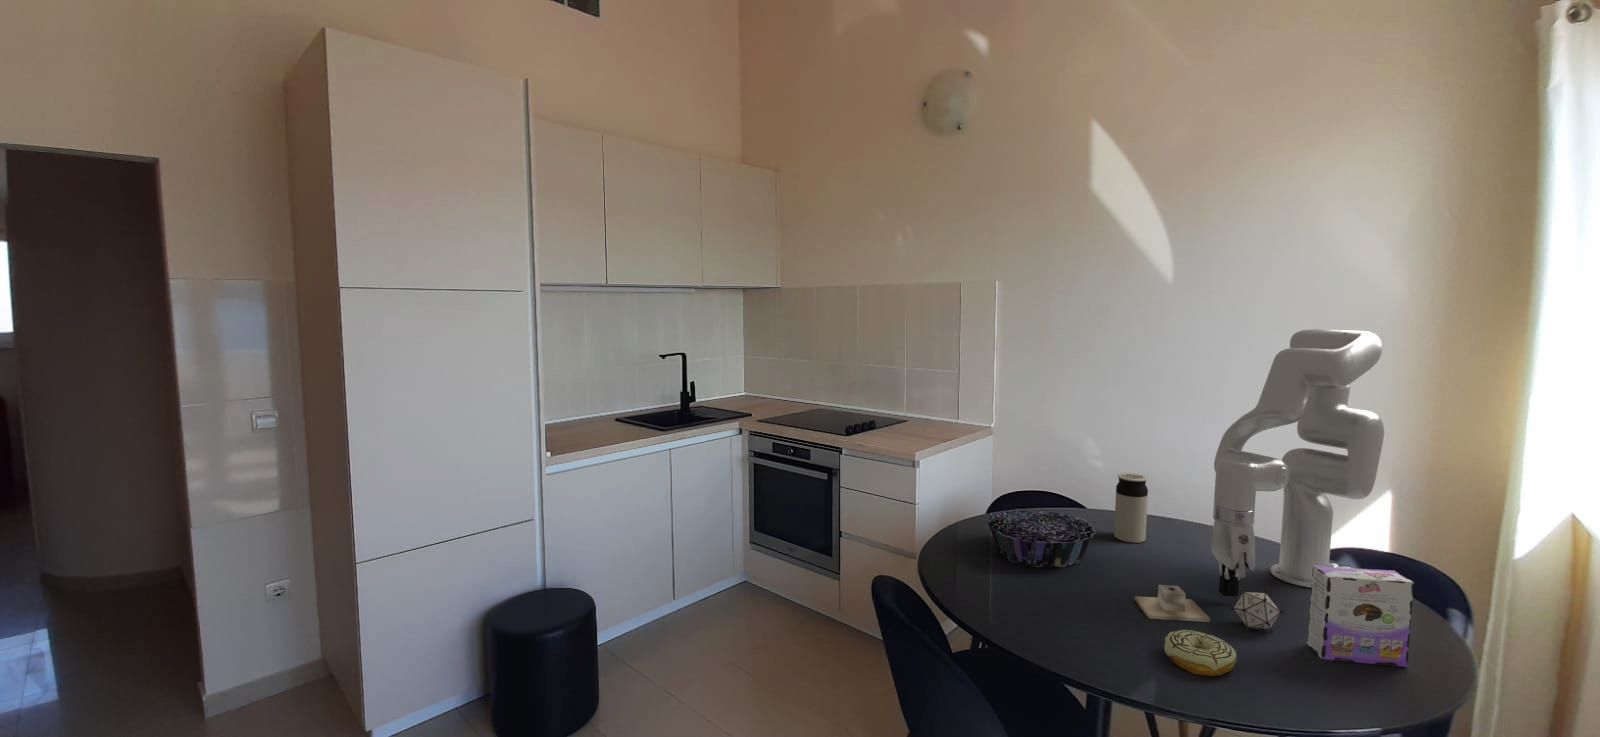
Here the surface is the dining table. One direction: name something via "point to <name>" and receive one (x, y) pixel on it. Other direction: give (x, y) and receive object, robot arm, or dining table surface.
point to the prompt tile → (1171, 615)
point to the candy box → (1360, 615)
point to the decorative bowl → (1041, 537)
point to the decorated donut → (1200, 652)
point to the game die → (1256, 610)
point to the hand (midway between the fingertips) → (1228, 594)
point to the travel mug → (1131, 508)
